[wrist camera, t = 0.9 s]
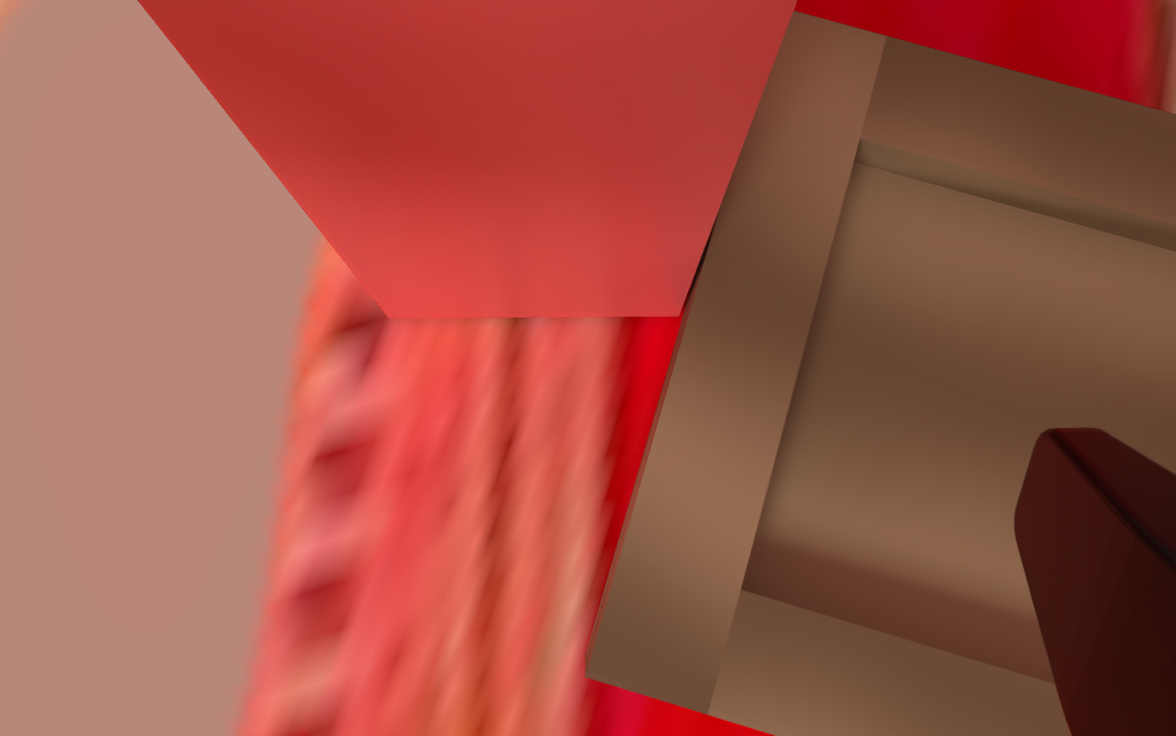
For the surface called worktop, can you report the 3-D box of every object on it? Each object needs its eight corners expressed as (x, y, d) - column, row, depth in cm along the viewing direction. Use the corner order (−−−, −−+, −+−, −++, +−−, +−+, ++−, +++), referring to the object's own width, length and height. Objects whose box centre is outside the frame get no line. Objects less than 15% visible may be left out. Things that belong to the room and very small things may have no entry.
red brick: (678, 316, 22) (798, -5, 10) (389, 318, 22) (137, 0, 10) (672, 47, 23) (772, -549, 11) (396, 49, 23) (179, -546, 11)
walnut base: (1193, 842, 20) (1342, 909, 16) (585, 655, 21) (585, 676, 17) (1297, 256, 22) (1451, 189, 18) (744, 103, 23) (777, 6, 19)
